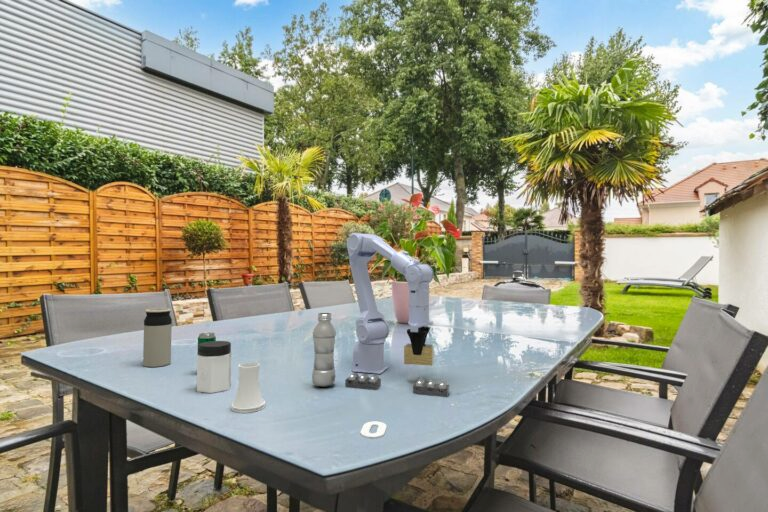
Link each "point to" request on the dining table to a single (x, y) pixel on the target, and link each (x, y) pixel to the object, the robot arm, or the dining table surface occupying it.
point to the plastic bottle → (324, 351)
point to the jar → (214, 366)
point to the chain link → (367, 427)
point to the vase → (248, 389)
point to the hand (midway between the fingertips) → (418, 353)
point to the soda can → (206, 338)
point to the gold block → (422, 359)
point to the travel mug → (157, 337)
